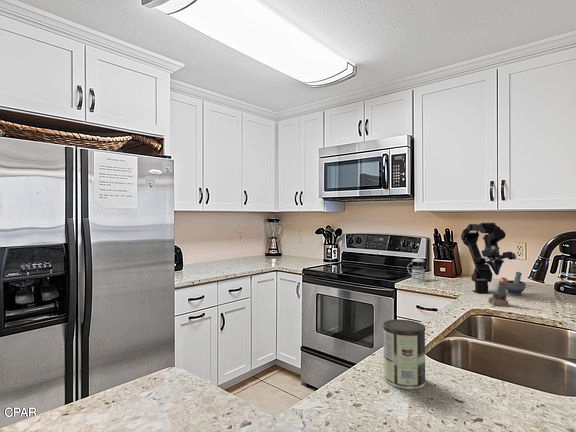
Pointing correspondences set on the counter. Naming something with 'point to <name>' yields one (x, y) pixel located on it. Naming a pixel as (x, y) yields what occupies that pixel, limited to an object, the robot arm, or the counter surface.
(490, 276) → the robot arm
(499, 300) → the stand
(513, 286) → the mortar and pestle
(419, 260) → the french press
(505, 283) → the nutcracker lever
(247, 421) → the counter surface
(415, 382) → the coffee can
